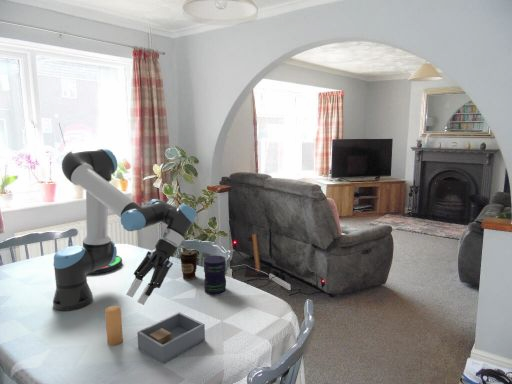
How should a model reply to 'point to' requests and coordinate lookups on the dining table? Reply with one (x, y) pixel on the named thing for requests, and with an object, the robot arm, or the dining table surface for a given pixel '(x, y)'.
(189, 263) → the coffee cup
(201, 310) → the dining table surface
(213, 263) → the storage jar
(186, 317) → the tote
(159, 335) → the walnut cube
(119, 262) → the electronic game
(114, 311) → the tan dome-topped cylinder
